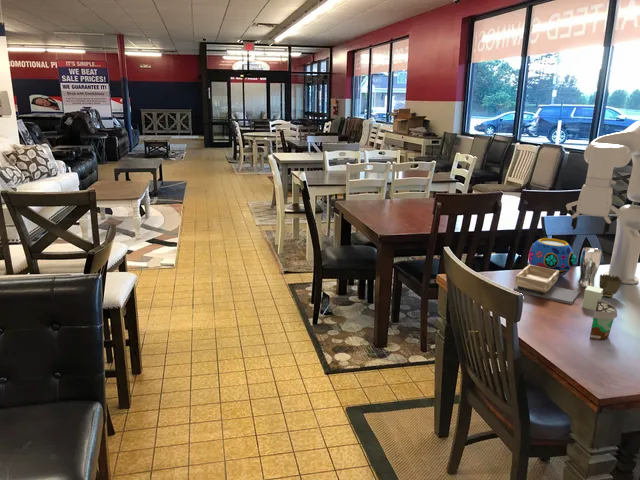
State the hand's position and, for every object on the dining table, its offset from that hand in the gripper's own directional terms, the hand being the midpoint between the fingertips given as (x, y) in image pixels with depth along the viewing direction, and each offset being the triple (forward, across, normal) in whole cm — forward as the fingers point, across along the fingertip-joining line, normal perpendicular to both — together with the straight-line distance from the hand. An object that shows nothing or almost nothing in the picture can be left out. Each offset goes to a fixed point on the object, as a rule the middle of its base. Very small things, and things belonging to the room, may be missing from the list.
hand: (589, 231), depth 177 cm
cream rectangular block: (+28, -5, -2) cm, 29 cm away
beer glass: (+28, +1, -26) cm, 38 cm away
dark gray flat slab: (+28, +12, -7) cm, 31 cm away
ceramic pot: (+28, +16, -28) cm, 43 cm away
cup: (+28, -8, -17) cm, 34 cm away
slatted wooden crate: (+27, +16, -7) cm, 32 cm away
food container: (+29, -11, +21) cm, 37 cm away
